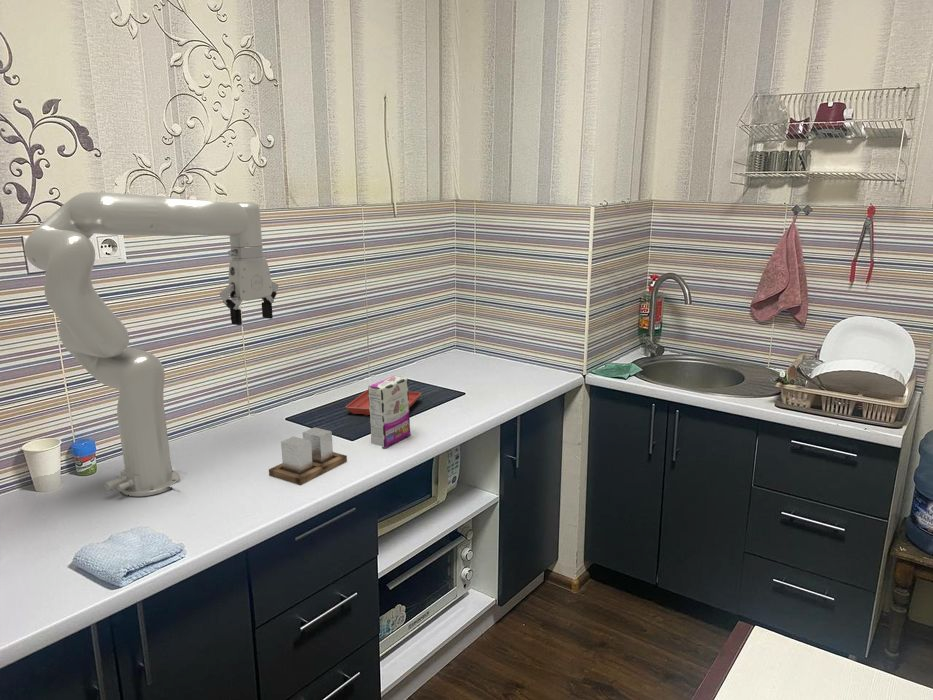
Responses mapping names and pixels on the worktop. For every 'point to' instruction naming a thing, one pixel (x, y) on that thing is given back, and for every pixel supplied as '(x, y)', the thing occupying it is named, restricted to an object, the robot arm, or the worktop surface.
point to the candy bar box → (389, 411)
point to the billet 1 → (296, 455)
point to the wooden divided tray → (309, 475)
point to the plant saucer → (362, 403)
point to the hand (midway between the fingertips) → (252, 321)
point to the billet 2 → (320, 444)
